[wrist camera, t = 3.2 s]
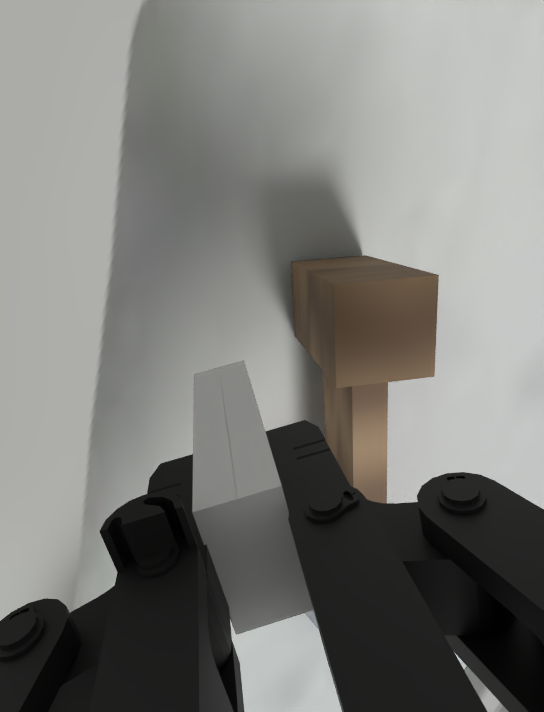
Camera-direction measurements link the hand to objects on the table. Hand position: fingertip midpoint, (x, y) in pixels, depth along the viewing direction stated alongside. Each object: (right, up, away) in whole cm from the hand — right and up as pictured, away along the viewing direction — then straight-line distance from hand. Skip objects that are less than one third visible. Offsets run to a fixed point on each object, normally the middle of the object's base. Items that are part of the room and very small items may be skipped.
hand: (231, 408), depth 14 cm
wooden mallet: (+5, -2, +13) cm, 14 cm away
